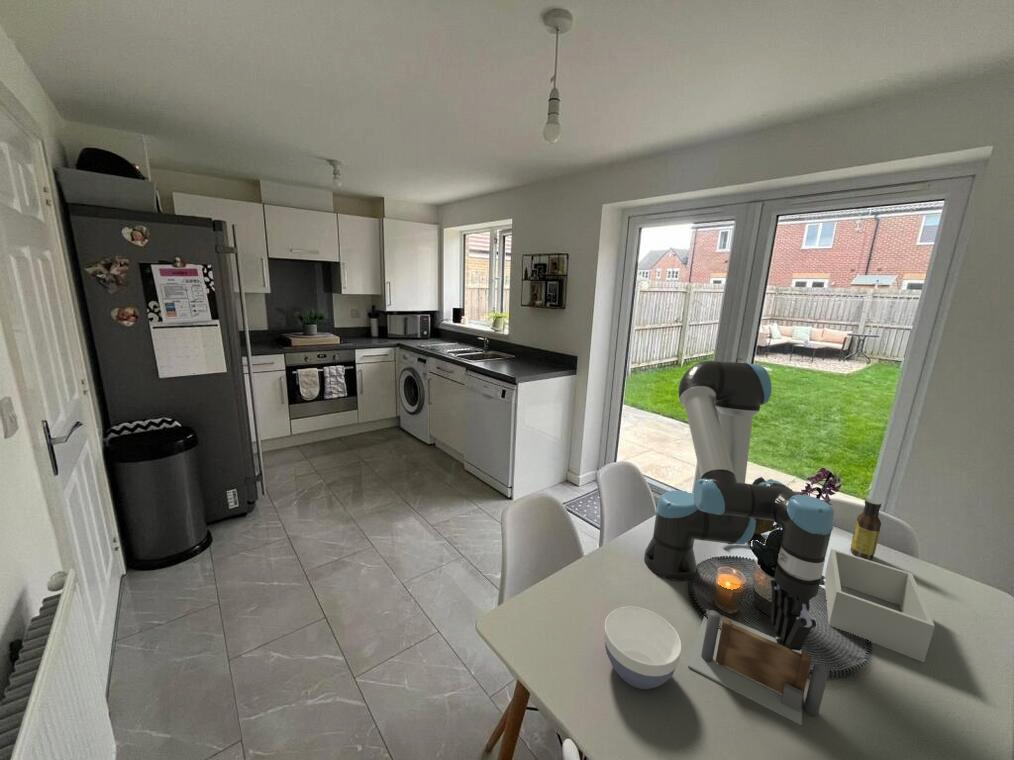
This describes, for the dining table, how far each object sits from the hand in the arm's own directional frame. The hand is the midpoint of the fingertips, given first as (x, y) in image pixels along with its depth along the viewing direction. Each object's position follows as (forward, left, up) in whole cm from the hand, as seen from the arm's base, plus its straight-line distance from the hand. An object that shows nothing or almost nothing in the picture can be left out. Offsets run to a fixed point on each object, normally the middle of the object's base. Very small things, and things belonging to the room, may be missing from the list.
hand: (778, 665), depth 90 cm
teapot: (-12, +60, -4) cm, 61 cm away
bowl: (-25, -17, -4) cm, 31 cm away
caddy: (+20, +40, -4) cm, 44 cm away
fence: (-4, +2, -4) cm, 6 cm away
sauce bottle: (+22, +76, -4) cm, 79 cm away
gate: (-4, -4, -2) cm, 6 cm away
